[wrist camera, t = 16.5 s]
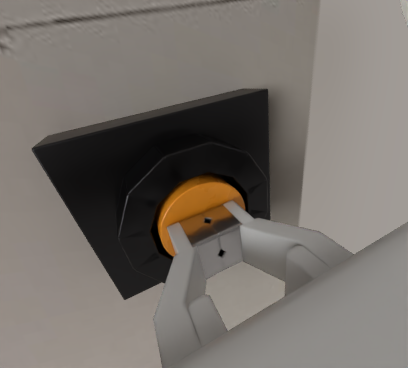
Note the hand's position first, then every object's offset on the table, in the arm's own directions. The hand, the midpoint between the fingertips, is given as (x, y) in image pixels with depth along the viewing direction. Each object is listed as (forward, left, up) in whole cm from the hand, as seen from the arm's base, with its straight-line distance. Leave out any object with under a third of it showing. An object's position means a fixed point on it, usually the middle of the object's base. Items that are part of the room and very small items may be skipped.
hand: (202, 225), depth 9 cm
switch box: (0, 0, -4) cm, 4 cm away
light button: (0, 0, -2) cm, 2 cm away
